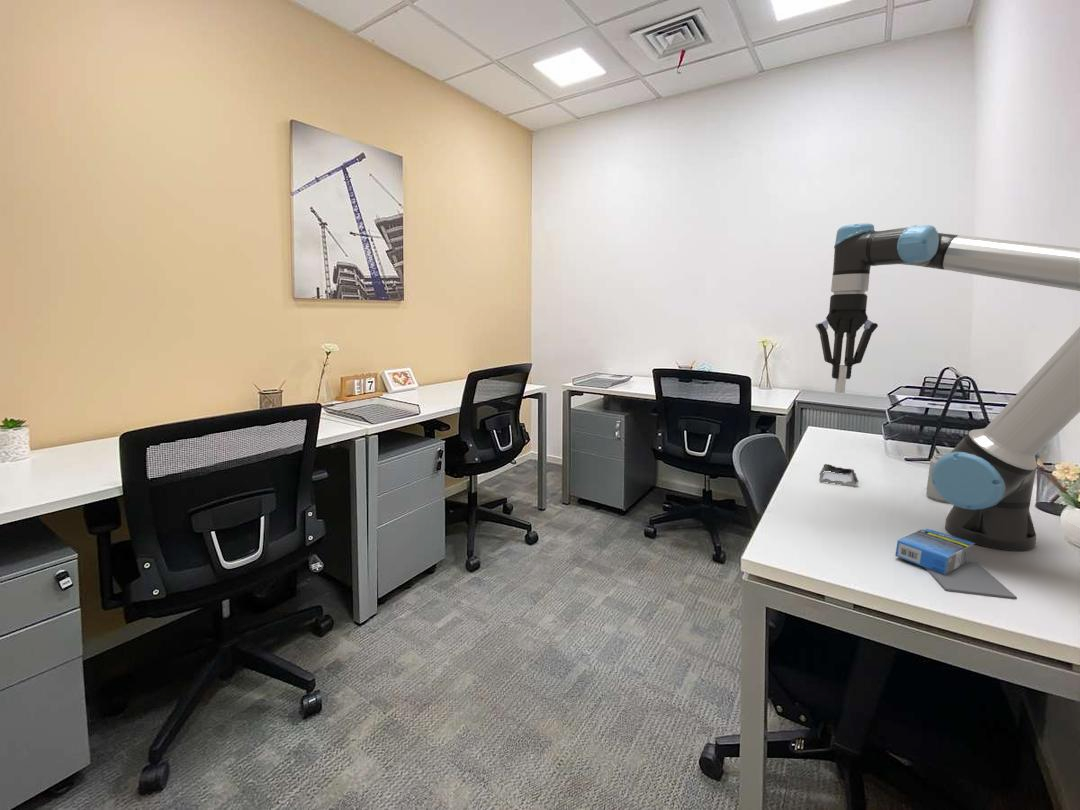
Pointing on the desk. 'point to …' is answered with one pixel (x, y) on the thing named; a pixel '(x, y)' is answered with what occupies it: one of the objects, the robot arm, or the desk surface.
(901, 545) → the label tape box
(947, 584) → the felt mat
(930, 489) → the can
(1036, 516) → the desk surface
